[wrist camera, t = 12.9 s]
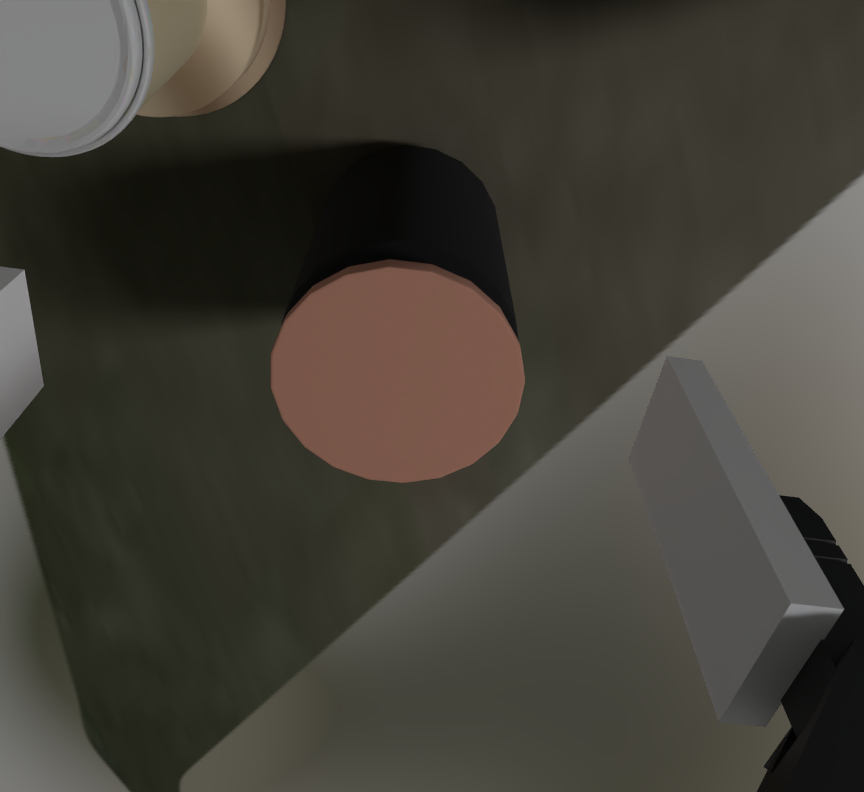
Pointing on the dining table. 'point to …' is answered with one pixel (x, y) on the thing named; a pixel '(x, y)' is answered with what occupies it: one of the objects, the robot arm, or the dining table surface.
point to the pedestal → (223, 58)
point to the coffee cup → (86, 67)
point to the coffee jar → (401, 323)
